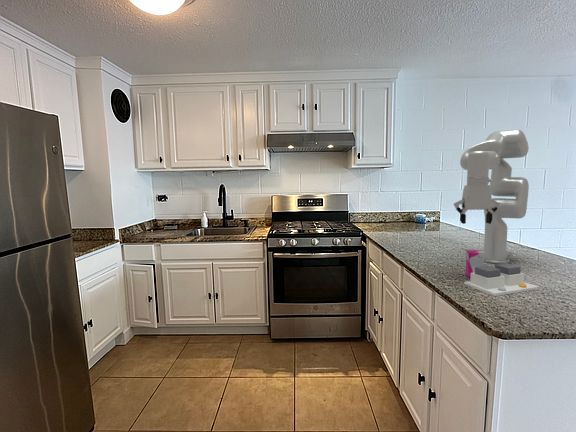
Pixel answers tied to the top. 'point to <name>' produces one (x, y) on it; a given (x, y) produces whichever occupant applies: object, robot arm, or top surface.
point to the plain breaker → (487, 271)
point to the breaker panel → (500, 284)
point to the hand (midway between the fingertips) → (475, 223)
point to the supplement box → (473, 261)
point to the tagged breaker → (508, 269)
